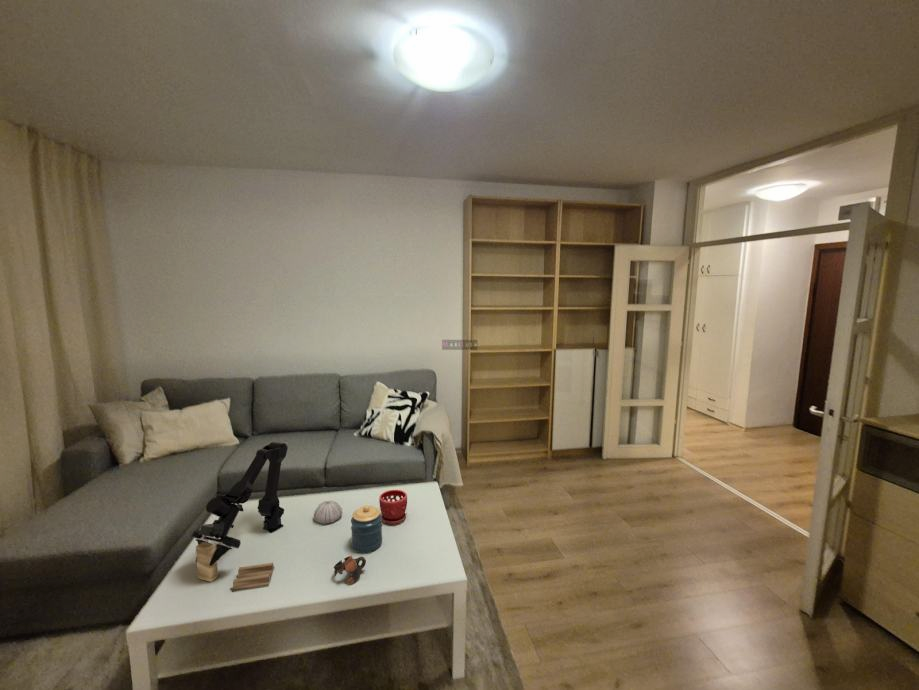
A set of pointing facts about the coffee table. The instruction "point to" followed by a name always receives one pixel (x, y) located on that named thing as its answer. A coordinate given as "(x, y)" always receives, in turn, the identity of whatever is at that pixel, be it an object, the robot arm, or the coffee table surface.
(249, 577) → the mating board
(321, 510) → the sea urchin shell
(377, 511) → the canister
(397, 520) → the plant pot
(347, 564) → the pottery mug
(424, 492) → the coffee table surface
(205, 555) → the wooden block
